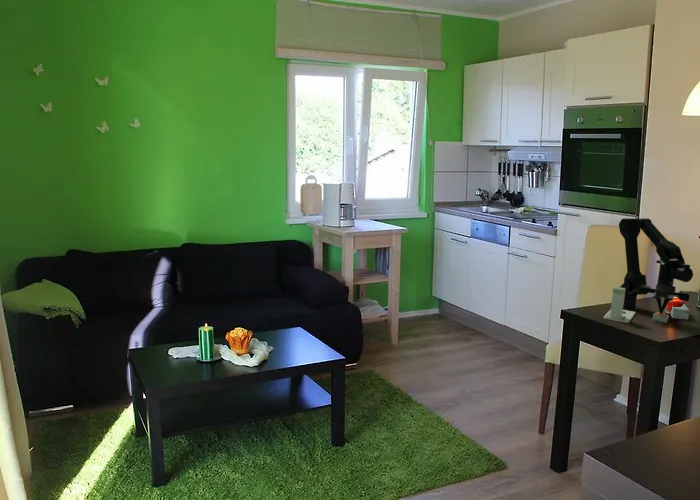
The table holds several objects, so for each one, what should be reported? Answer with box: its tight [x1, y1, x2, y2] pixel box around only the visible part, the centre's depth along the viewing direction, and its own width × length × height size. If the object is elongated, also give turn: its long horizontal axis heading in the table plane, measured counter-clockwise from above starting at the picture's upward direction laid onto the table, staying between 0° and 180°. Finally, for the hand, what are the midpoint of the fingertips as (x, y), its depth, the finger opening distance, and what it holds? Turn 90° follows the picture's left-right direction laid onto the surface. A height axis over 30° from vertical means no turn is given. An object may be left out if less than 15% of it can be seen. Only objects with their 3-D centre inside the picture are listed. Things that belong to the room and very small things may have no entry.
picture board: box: [602, 308, 636, 324], centre depth 257 cm, size 18×10×1 cm, turn 147°
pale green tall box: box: [609, 286, 626, 319], centre depth 252 cm, size 4×4×12 cm
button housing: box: [652, 312, 669, 324], centre depth 253 cm, size 5×5×2 cm
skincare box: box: [670, 303, 690, 320], centre depth 261 cm, size 6×4×12 cm
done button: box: [655, 311, 667, 317], centre depth 253 cm, size 4×4×2 cm
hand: (661, 313), depth 253 cm, fingers closed, pressing on done button
